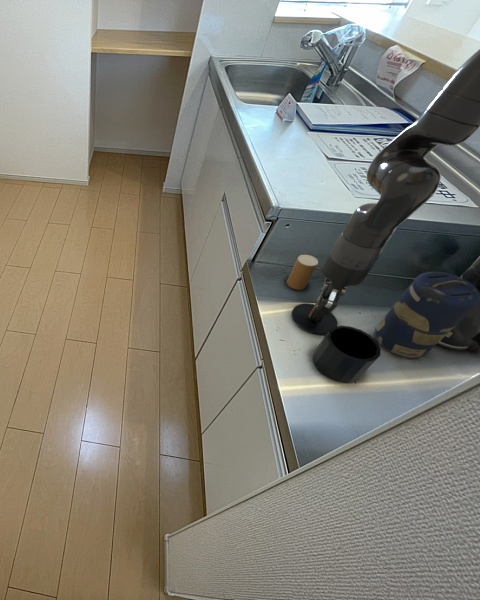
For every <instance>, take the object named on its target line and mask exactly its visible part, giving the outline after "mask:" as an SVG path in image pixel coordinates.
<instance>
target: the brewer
mask: <svg viewBox="0 0 480 600" xmlns="http://www.w3.org/2000/svg"><path fill="white" fill-rule="evenodd" d="M381 353H382V348H381V346H380V343H379V342H378V340H377V339H375V338H374V337H373V336H372V335H371V334H369V333H367V332H366V331H364V330H362V329H359V328H357V327H354V326H349V325H337V327H333V328H332V329H330V330H329V331H328V333H327V334H325V336H324V337H323V338H322V340H321V342H320V343H319V345H318V346H317V347H316V349H315V350H314V352H313V355H312V364H313V366H314V367H315V369H316V370H317V371H318V372H319V373H321V374H322V375H323V376H324V377H326V378H327V379H329V380H332V381H334V382H337V383H342V384H353V383H355V382H357V381H359V379H360V378H362V377H363V375H364V374H365V373H366V372H367V371H368V370H369V369H370V368H371V367H372V366H373V365H374V364H375V362H377V360H378V359H379V358H380V357H381Z"/></svg>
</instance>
